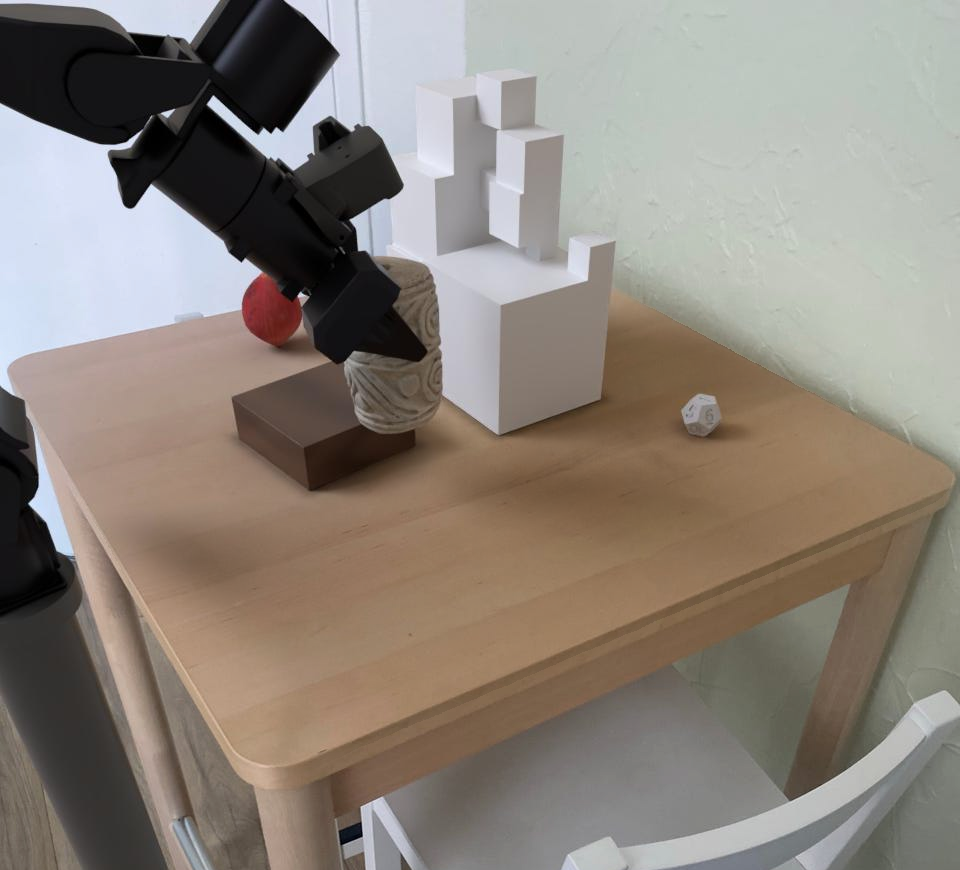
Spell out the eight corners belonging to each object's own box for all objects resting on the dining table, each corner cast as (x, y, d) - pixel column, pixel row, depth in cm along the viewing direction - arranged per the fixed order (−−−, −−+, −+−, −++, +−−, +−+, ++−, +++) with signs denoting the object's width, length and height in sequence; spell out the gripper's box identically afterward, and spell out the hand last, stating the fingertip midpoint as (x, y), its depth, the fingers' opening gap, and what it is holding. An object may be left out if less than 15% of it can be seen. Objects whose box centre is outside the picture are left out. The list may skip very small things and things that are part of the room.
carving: (332, 419, 75) (318, 263, 67) (413, 392, 78) (408, 242, 70) (377, 453, 71) (367, 292, 63) (459, 424, 74) (459, 268, 66)
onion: (250, 361, 95) (237, 281, 89) (245, 337, 99) (232, 259, 94) (309, 355, 96) (300, 275, 91) (301, 331, 100) (292, 253, 95)
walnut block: (309, 491, 78) (303, 447, 75) (238, 438, 84) (230, 396, 81) (415, 445, 83) (414, 403, 80) (342, 398, 89) (338, 358, 86)
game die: (707, 445, 83) (712, 414, 81) (670, 431, 85) (675, 400, 83) (727, 429, 85) (733, 399, 83) (691, 416, 87) (696, 385, 85)
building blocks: (600, 399, 89) (629, 97, 73) (498, 435, 84) (503, 120, 68) (470, 319, 102) (469, 48, 86) (375, 346, 97) (354, 64, 81)
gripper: (356, 124, 51) (535, 301, 62) (287, 54, 64) (444, 210, 75) (230, 286, 55) (420, 430, 65) (189, 188, 68) (353, 320, 78)
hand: (410, 338), depth 70 cm, fingers closed on carving, 6 cm apart
